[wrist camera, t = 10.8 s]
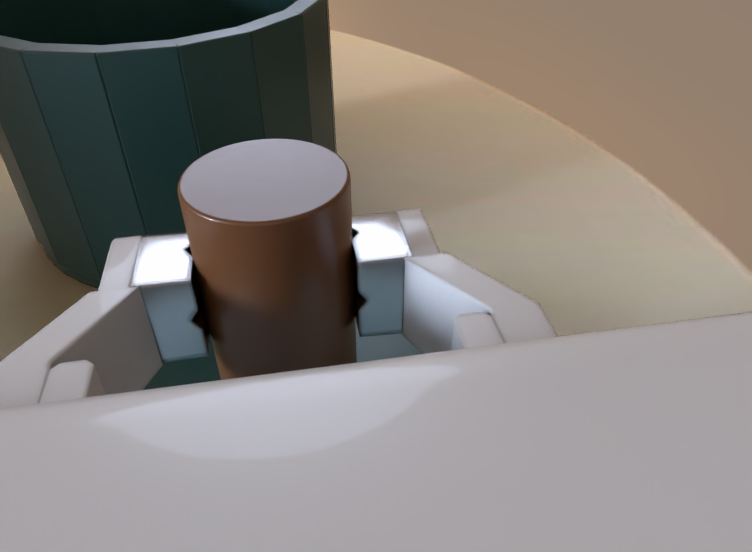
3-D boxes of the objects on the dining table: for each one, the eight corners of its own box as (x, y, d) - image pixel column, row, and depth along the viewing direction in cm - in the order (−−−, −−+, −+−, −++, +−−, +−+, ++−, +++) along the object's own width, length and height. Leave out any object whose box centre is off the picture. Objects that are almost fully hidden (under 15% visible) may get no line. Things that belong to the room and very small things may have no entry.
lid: (-15, 1122, 9) (-888, 1228, 3) (13, 403, 20) (-160, 86, 13) (738, 682, 14) (1050, 341, 7) (432, 286, 24) (450, 6, 18)
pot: (42, 335, 23) (-78, 82, 17) (40, 166, 33) (-36, -31, 27) (384, 247, 27) (383, 17, 21) (290, 120, 37) (272, -60, 31)
